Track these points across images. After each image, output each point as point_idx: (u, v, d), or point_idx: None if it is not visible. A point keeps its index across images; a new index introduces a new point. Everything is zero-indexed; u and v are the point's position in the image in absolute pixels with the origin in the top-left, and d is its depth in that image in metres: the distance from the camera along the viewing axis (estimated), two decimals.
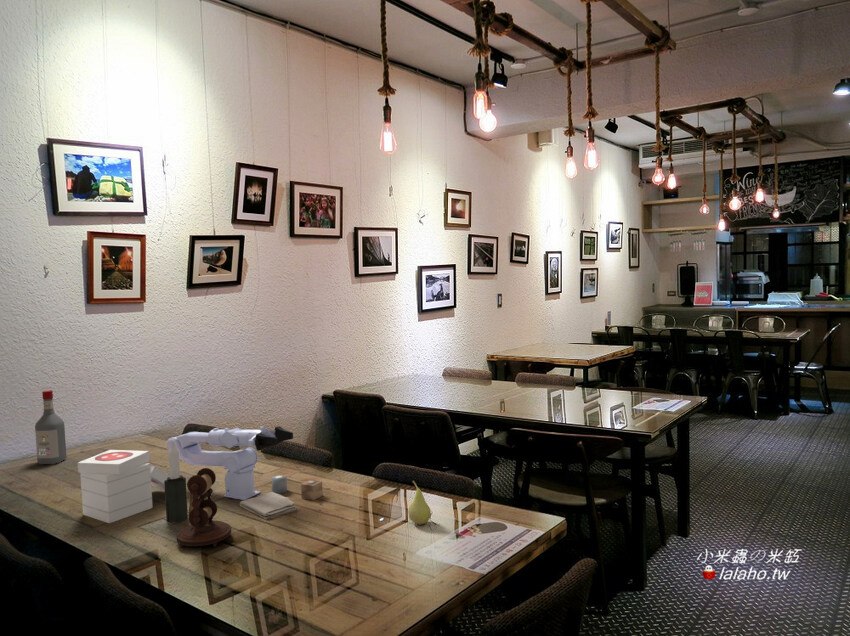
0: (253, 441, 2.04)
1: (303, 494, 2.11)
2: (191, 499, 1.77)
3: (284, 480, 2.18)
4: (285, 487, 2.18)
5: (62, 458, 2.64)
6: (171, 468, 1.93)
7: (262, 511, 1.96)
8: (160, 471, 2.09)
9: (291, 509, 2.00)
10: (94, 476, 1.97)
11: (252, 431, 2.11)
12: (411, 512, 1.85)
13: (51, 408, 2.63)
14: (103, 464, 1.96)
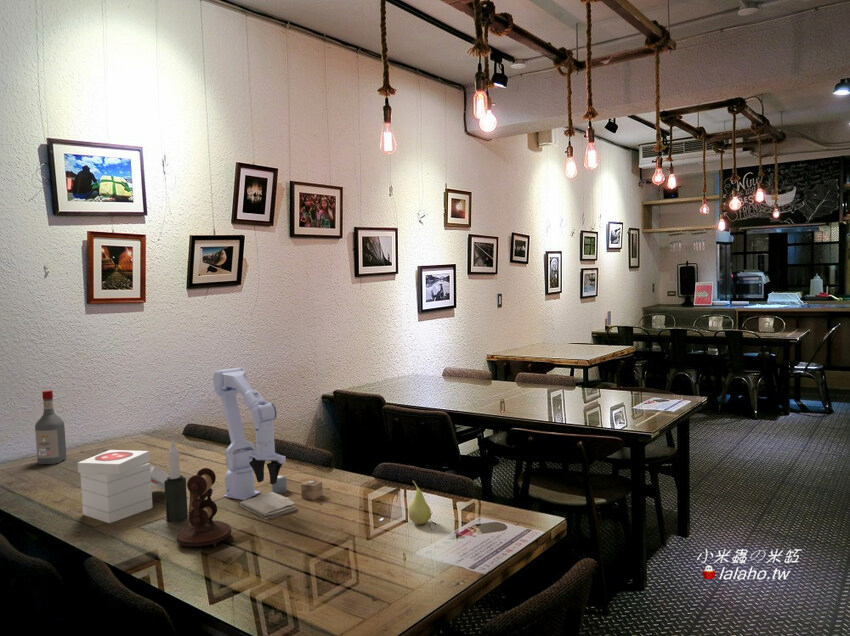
0: None
1: (303, 494, 2.11)
2: (191, 499, 1.77)
3: (284, 480, 2.18)
4: (285, 487, 2.18)
5: (62, 458, 2.64)
6: (171, 468, 1.93)
7: (262, 511, 1.96)
8: (160, 471, 2.09)
9: (291, 509, 2.00)
10: (94, 476, 1.97)
11: (257, 445, 2.01)
12: (411, 512, 1.85)
13: (51, 408, 2.63)
14: (103, 464, 1.96)
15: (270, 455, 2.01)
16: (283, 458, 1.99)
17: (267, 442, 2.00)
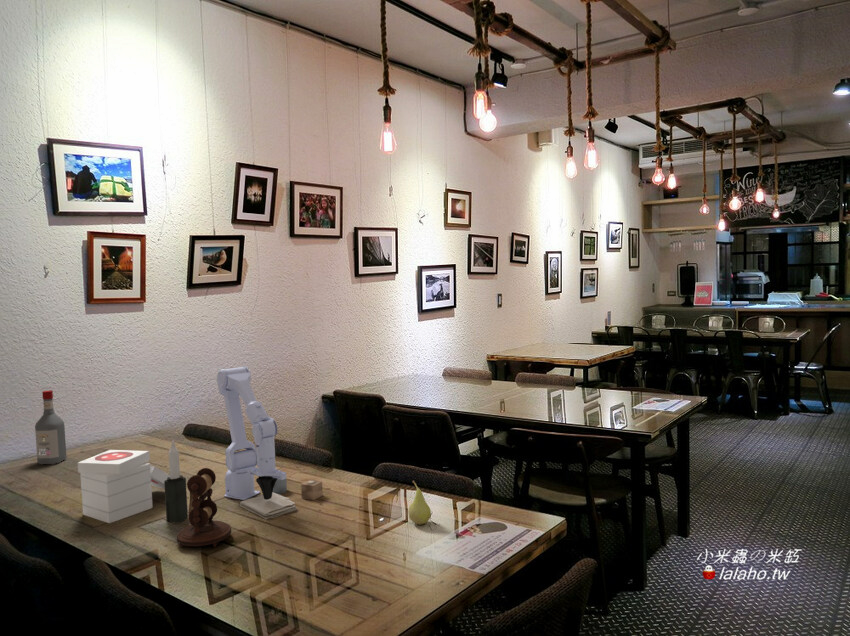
0: None
1: (303, 494, 2.11)
2: (191, 499, 1.77)
3: (284, 480, 2.18)
4: (285, 487, 2.18)
5: (62, 458, 2.64)
6: (171, 468, 1.93)
7: (262, 511, 1.96)
8: (160, 471, 2.09)
9: (291, 509, 2.00)
10: (94, 476, 1.97)
11: (257, 462, 2.01)
12: (411, 512, 1.85)
13: (51, 408, 2.63)
14: (103, 464, 1.96)
15: (271, 471, 2.01)
16: (284, 474, 2.00)
17: (268, 458, 2.00)
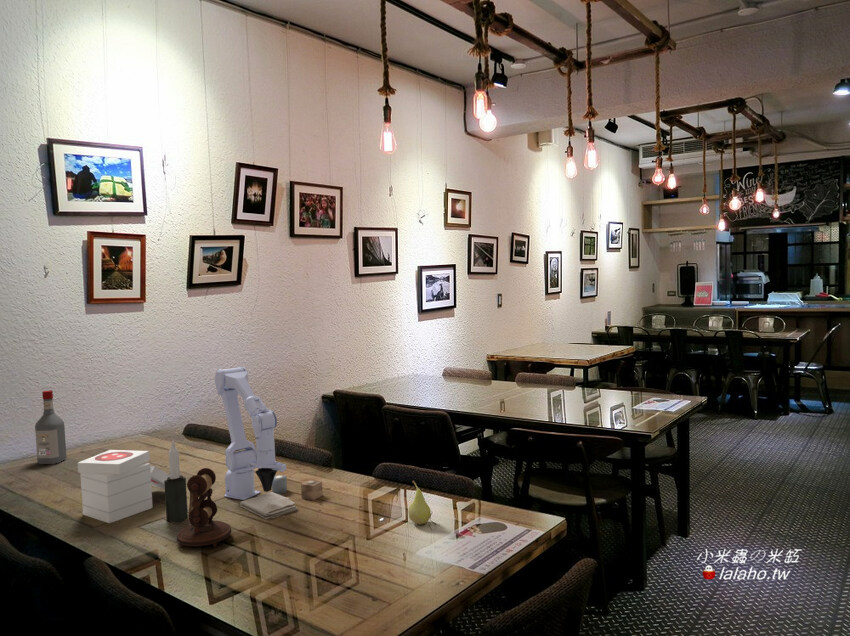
0: None
1: (303, 494, 2.11)
2: (191, 499, 1.77)
3: (284, 480, 2.18)
4: (285, 487, 2.18)
5: (62, 458, 2.64)
6: (171, 468, 1.93)
7: (263, 511, 1.96)
8: (160, 471, 2.09)
9: (291, 509, 2.00)
10: (94, 476, 1.97)
11: (257, 454, 2.01)
12: (411, 512, 1.85)
13: (51, 408, 2.63)
14: (103, 464, 1.96)
15: (270, 463, 2.01)
16: (283, 466, 1.99)
17: (267, 450, 2.00)
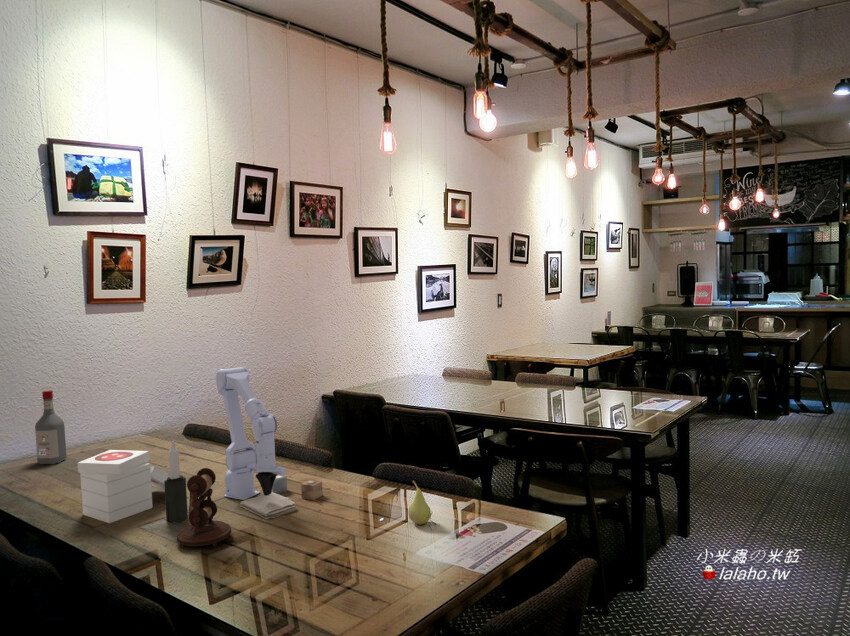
0: None
1: (303, 494, 2.11)
2: (191, 499, 1.77)
3: (284, 480, 2.18)
4: (285, 487, 2.18)
5: (62, 458, 2.64)
6: (171, 468, 1.93)
7: (263, 511, 1.95)
8: (160, 471, 2.09)
9: (292, 509, 2.00)
10: (94, 476, 1.97)
11: (257, 458, 2.01)
12: (411, 512, 1.85)
13: (51, 408, 2.63)
14: (103, 464, 1.96)
15: (271, 467, 2.01)
16: (284, 470, 2.00)
17: (268, 454, 2.00)
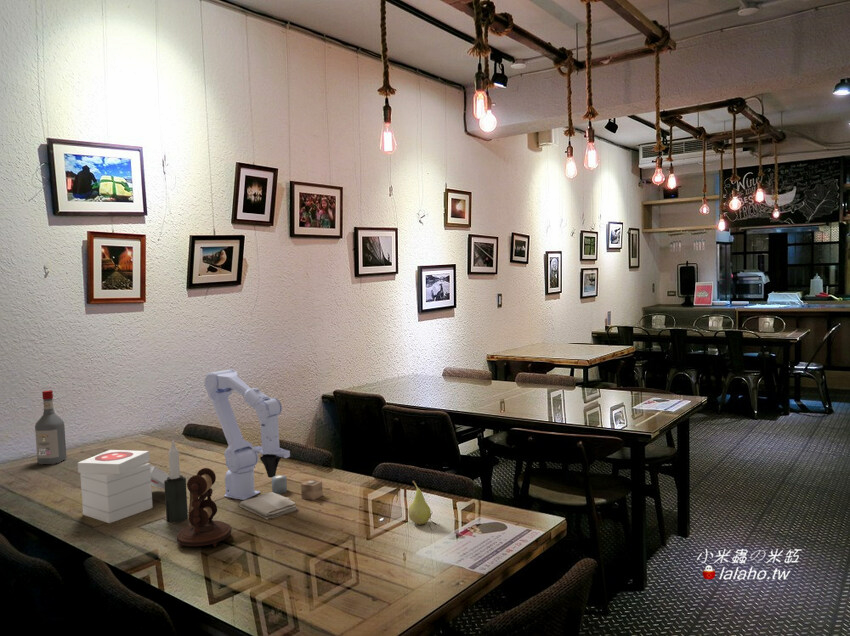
0: None
1: (303, 494, 2.11)
2: (191, 499, 1.77)
3: (284, 480, 2.18)
4: (285, 487, 2.18)
5: (62, 458, 2.64)
6: (171, 468, 1.93)
7: (263, 511, 1.95)
8: (160, 471, 2.09)
9: (292, 509, 2.00)
10: (94, 476, 1.97)
11: (262, 440, 2.05)
12: (411, 512, 1.85)
13: (51, 408, 2.63)
14: (103, 464, 1.96)
15: (275, 450, 2.05)
16: (287, 453, 2.03)
17: (272, 437, 2.04)
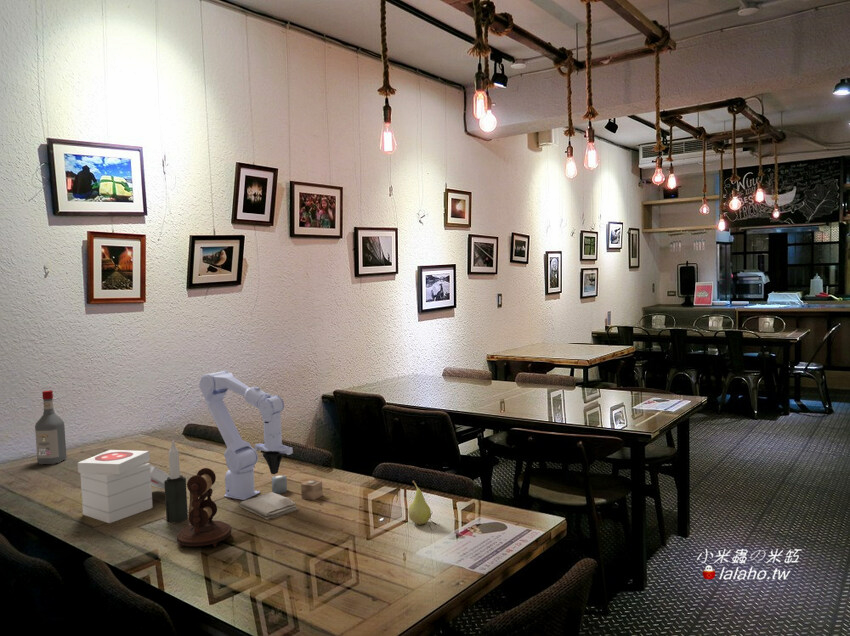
0: None
1: (303, 494, 2.11)
2: (191, 499, 1.77)
3: (284, 480, 2.18)
4: (285, 487, 2.18)
5: (62, 458, 2.64)
6: (171, 468, 1.93)
7: (263, 511, 1.95)
8: (160, 471, 2.09)
9: (292, 509, 2.00)
10: (94, 476, 1.97)
11: (264, 437, 2.07)
12: (411, 512, 1.85)
13: (51, 408, 2.63)
14: (103, 464, 1.96)
15: (277, 447, 2.07)
16: (290, 449, 2.05)
17: (274, 434, 2.06)
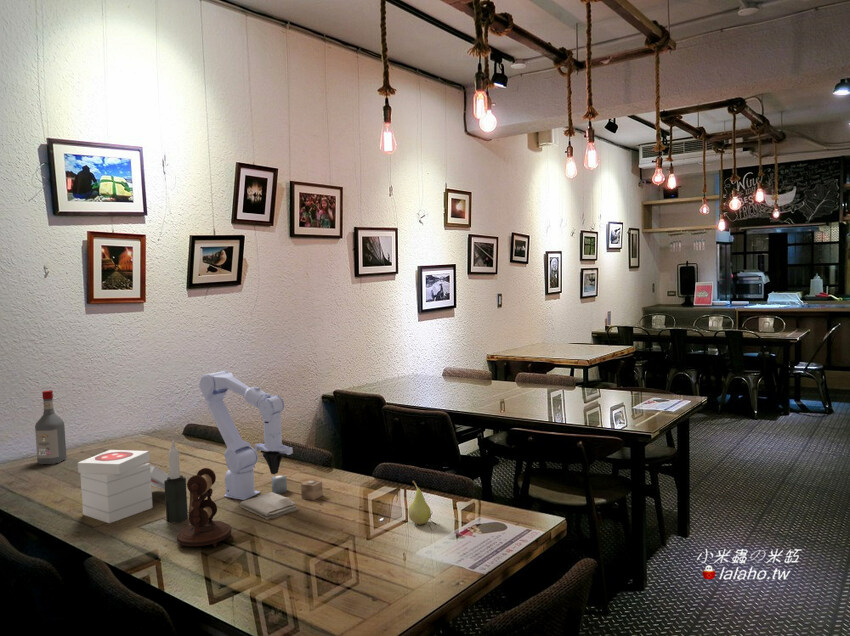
0: None
1: (303, 494, 2.11)
2: (191, 499, 1.77)
3: (284, 480, 2.18)
4: (285, 487, 2.18)
5: (62, 458, 2.64)
6: (171, 468, 1.93)
7: (263, 511, 1.95)
8: (160, 471, 2.09)
9: (292, 509, 2.00)
10: (94, 476, 1.97)
11: (264, 437, 2.07)
12: (411, 512, 1.85)
13: (51, 408, 2.63)
14: (103, 464, 1.96)
15: (277, 447, 2.07)
16: (290, 449, 2.05)
17: (274, 434, 2.06)
